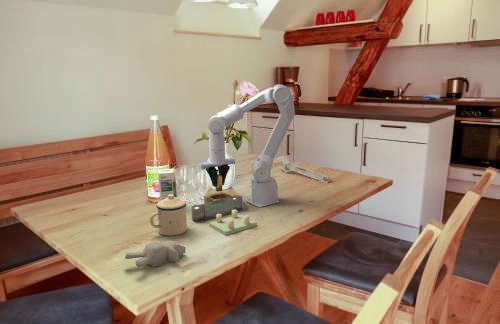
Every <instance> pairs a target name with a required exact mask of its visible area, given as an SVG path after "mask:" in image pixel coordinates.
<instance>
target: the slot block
mask: <svg viewBox="0 0 500 324" xmlns="http://www.w3.org/2000/svg"><path fill="white" fill-rule="evenodd" d="M231 196H232V194H231V195H230V194H228V193H226V192H224V191H220V192H214V193H211V194H206V195H204V196H203V204H204V203H208V202H213V201H217V200H221V199H225V198H229V197H231Z"/></svg>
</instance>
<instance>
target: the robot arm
mask: <svg viewBox="0 0 500 324" xmlns="http://www.w3.org/2000/svg"><path fill="white" fill-rule="evenodd" d="M273 102H274V103H275V104H276V105H277V108H278V110H279V115H278V118H277V120H276V122H275V125H274V126H273V128H272V130H271V133H270V134H269V138H268V140H267V141H266V143H265V146H264V148H263V149H262V152H261V153H260V154H259V156H258V158H257V159H256V160H255V161H254V162H253V163H252V165H251V170H252V177H251V179H250V180H251V182H250V183H251V199H248V200H246V203H249V204H251V205H253V206H255V207H258V208H262V207H263V208H264V207H266V206H269V205H273V204H277V203H279V202H280V200H279V198H278V197H279V195H278V193H279V191H278V190H279V189H278V182H277V180H276V179H275V178H274V177H271V169H272V167H273V163H274V160H275V158H276V156H277V153H278V151H279V149H280V147H281V144H282V142H283V141H284V138H285V136H286V134H287V132H288V129H289V127H290V126H291V124H292V122H293V120H294V117H295V115H296V111H295V104H294V103H295V102H294V95H293V93H292V91H291V89H290V88H289V87H288V86H286V85H284V84H278V83H277V84H275V85H274V86H273V87H268V88H267V89H264V90H262V91H261V92H259V93H257V94H255V95H254V96H253V97H251V98H249V99H248V100H247V101H245V102H243V103H241V104H237V103H235V104H229V105H228V106H227V108H226V109H223V110H222V111H221V112H219V111H218V112H216V115H213V116H211V117H210V118H209V119H208V122H207V129H208V152H209V153H208V155H209V160H208V161H204V162H202V163H198V169H199V170H200V171H203V170H205V171H206V172H207V174H208V176H209V179H210V182H211V186H212V187H214V188H215V187H217V174H222V186H225V184H226V179H227V176H228V173H229V171H230V169H231V167H230V165H235V164H236V158H234V157H229V158H226V144H225V143H226V141H225V133H224V129H225V128H228V127H230V126H232V125H234V124H236V123H237V122H239V121H240V120H243V118H244V115H245V113H247V112H249V111H251V110H253V109H255V108H256V107H259V106H260V105H262V104H264V103H267V104H268V103H270V104H271V103H273Z"/></svg>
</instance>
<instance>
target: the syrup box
mask: <svg viewBox="0 0 500 324" xmlns="http://www.w3.org/2000/svg"><path fill="white" fill-rule="evenodd" d="M157 175H158V176H157V177H158V189H159V190H158V191H159V201H161V200H164V199H165V198H168V195H170V194H173V195H174V197H176V198H178V193H177V184H176V183H177V182H176V171H175V169H174V168H168V169H167V168H166V169H165V168H164V169H157Z"/></svg>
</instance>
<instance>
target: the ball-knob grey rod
mask: <svg viewBox="0 0 500 324" xmlns="http://www.w3.org/2000/svg"><path fill="white" fill-rule="evenodd" d="M243 205H244V204H243V196H242V195H237V194H236V195H231V197H229V198H225V199H221V200H217V201H213V202H208V203H204V202H203V203H200V204H195V205H191V220H192V222H193V223H202V222H205V221H206V220H210V219H213V218H216V214H222V216H225V215H228V214H232V210H237V213H238V212H241V211H243Z"/></svg>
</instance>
